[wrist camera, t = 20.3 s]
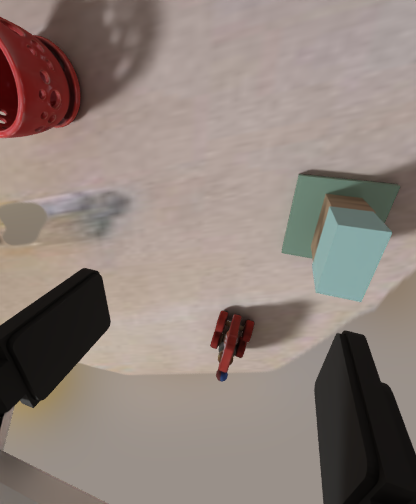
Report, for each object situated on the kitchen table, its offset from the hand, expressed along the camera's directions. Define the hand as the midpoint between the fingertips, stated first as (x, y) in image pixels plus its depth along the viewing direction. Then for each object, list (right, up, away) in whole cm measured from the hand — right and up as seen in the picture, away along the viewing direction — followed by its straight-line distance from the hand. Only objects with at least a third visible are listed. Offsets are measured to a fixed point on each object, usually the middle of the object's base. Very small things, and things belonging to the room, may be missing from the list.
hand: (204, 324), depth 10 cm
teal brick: (+16, +4, +20) cm, 26 cm away
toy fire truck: (+5, -13, +41) cm, 44 cm away
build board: (+18, +7, +26) cm, 32 cm away
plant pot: (-24, +29, +29) cm, 48 cm away
